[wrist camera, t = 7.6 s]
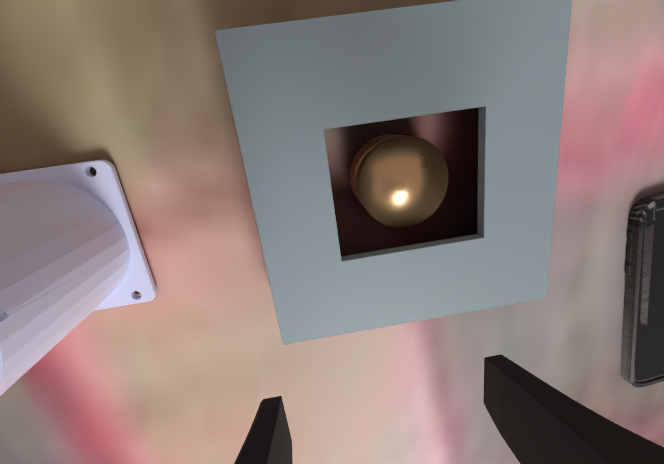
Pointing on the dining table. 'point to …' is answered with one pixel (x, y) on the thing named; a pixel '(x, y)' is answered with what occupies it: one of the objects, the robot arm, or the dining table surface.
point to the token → (399, 179)
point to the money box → (388, 104)
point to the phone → (644, 294)
